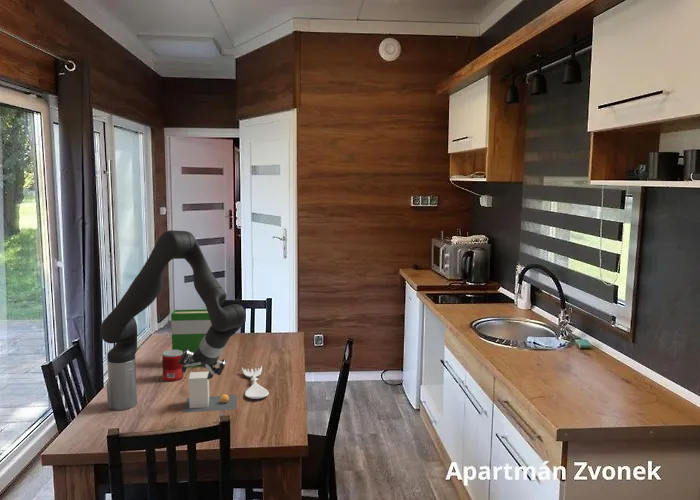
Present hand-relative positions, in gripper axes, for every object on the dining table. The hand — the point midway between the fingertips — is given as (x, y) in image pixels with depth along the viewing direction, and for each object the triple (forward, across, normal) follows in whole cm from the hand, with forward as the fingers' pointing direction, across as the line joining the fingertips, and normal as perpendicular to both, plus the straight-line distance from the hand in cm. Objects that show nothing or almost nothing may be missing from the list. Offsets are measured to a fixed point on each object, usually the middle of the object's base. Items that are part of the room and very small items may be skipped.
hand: (196, 373), depth 185 cm
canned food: (+39, +2, -22) cm, 45 cm away
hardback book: (+46, -6, -36) cm, 58 cm away
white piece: (+20, -27, -15) cm, 37 cm away
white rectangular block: (+18, -7, 0) cm, 19 cm away
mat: (+16, -10, 0) cm, 20 cm away
